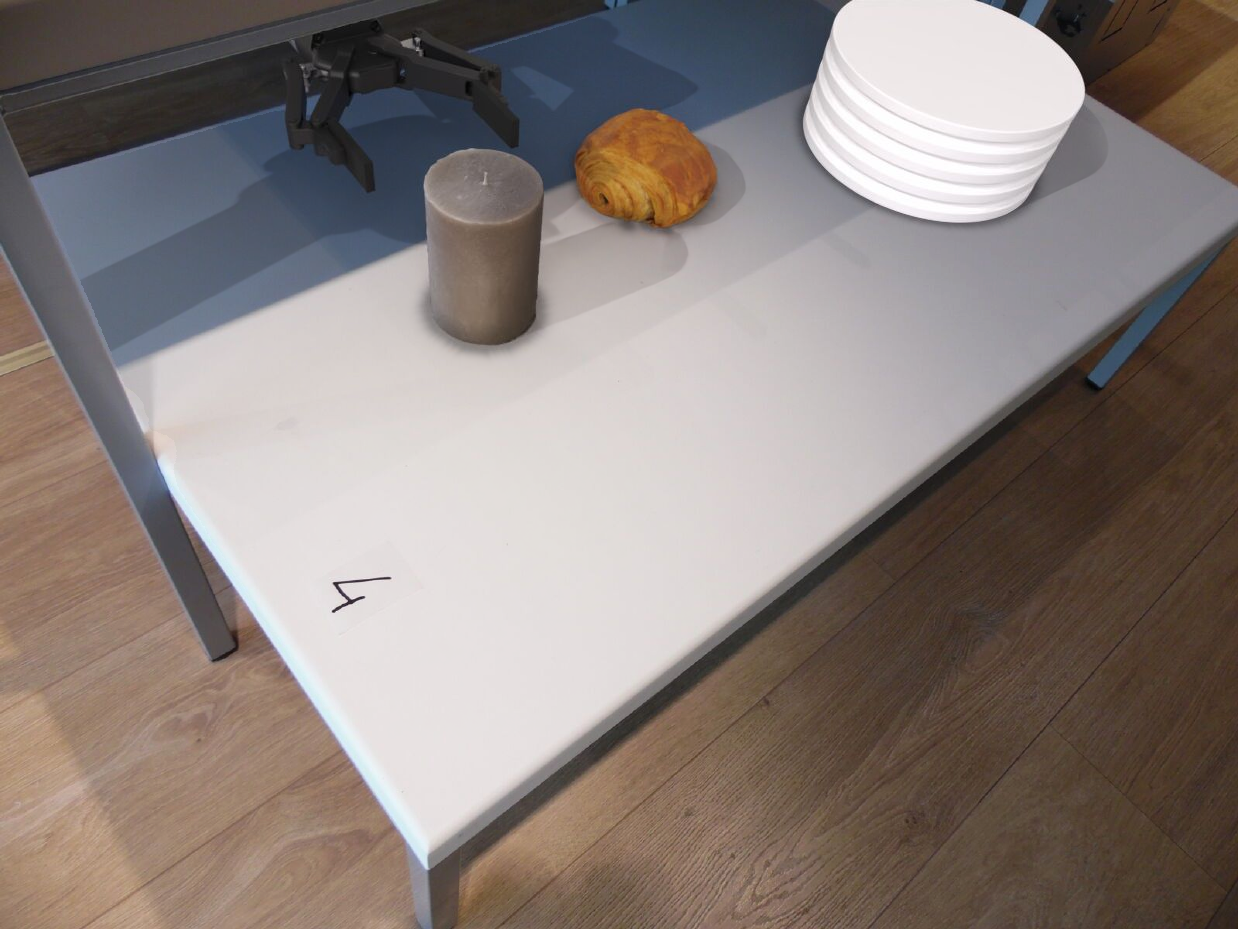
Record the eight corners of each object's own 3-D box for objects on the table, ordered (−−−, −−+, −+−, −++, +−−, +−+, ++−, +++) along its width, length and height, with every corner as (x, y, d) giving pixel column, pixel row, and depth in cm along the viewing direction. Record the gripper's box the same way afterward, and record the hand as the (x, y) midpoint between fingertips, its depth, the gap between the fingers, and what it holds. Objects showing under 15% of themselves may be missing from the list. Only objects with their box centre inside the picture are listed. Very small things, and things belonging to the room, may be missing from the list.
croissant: (549, 204, 97) (545, 143, 90) (636, 127, 104) (639, 64, 97) (659, 267, 93) (664, 208, 86) (743, 182, 99) (754, 121, 92)
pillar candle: (556, 324, 84) (570, 189, 72) (461, 361, 80) (459, 224, 68) (502, 259, 88) (507, 121, 76) (410, 291, 84) (399, 151, 72)
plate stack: (800, 62, 117) (827, -29, 107) (1012, 99, 118) (1058, 12, 109) (805, 199, 100) (839, 104, 91) (1053, 241, 101) (1111, 152, 92)
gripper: (449, 38, 93) (566, 154, 84) (205, 97, 82) (309, 236, 73) (448, -37, 87) (573, 78, 78) (184, 15, 76) (294, 156, 67)
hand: (445, 155), depth 76 cm, fingers open, 13 cm apart
